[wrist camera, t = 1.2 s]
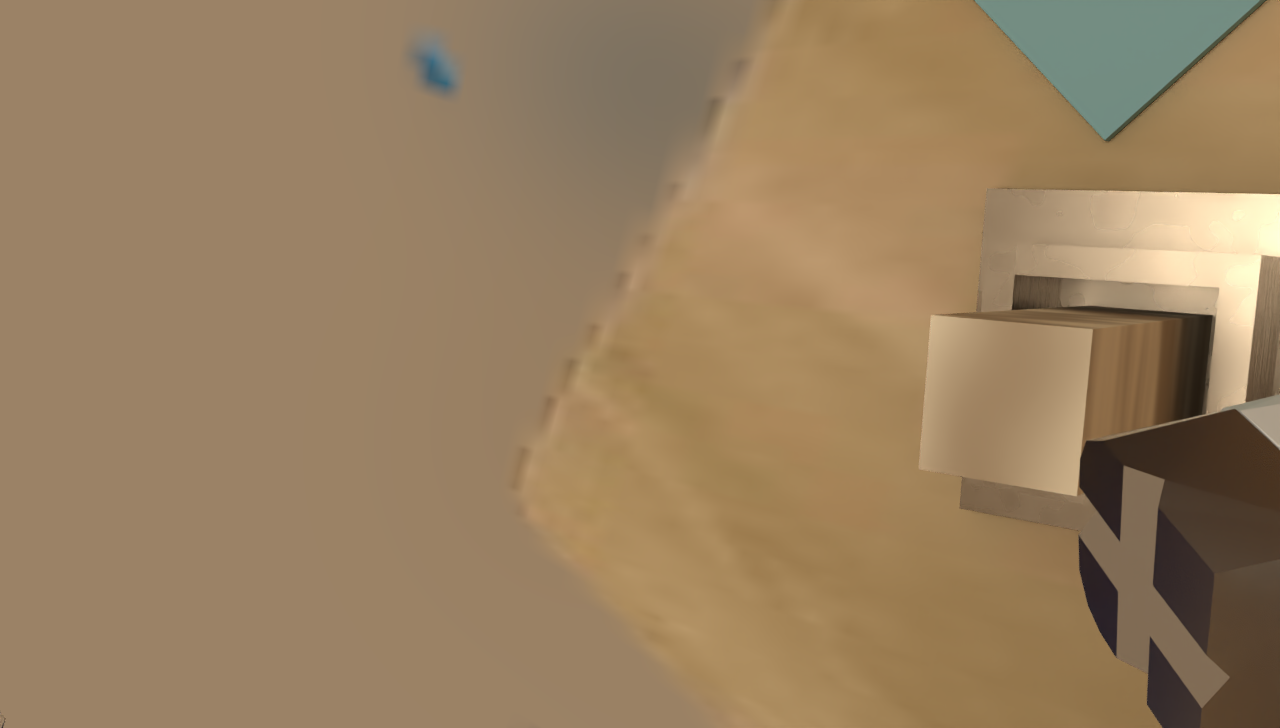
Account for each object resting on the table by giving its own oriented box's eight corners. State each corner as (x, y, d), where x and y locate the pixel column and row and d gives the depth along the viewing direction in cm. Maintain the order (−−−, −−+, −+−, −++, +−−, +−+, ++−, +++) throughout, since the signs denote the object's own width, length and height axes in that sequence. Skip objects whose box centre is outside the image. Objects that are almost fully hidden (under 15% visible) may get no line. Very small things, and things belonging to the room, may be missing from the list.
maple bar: (1212, 315, 39) (1093, 329, 27) (1199, 434, 39) (1076, 496, 28) (1088, 305, 41) (931, 314, 30) (1077, 418, 41) (918, 469, 30)
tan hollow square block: (1371, 197, 37) (1351, 185, 32) (1326, 570, 38) (1301, 612, 33) (996, 190, 44) (933, 178, 39) (969, 504, 45) (905, 530, 40)
